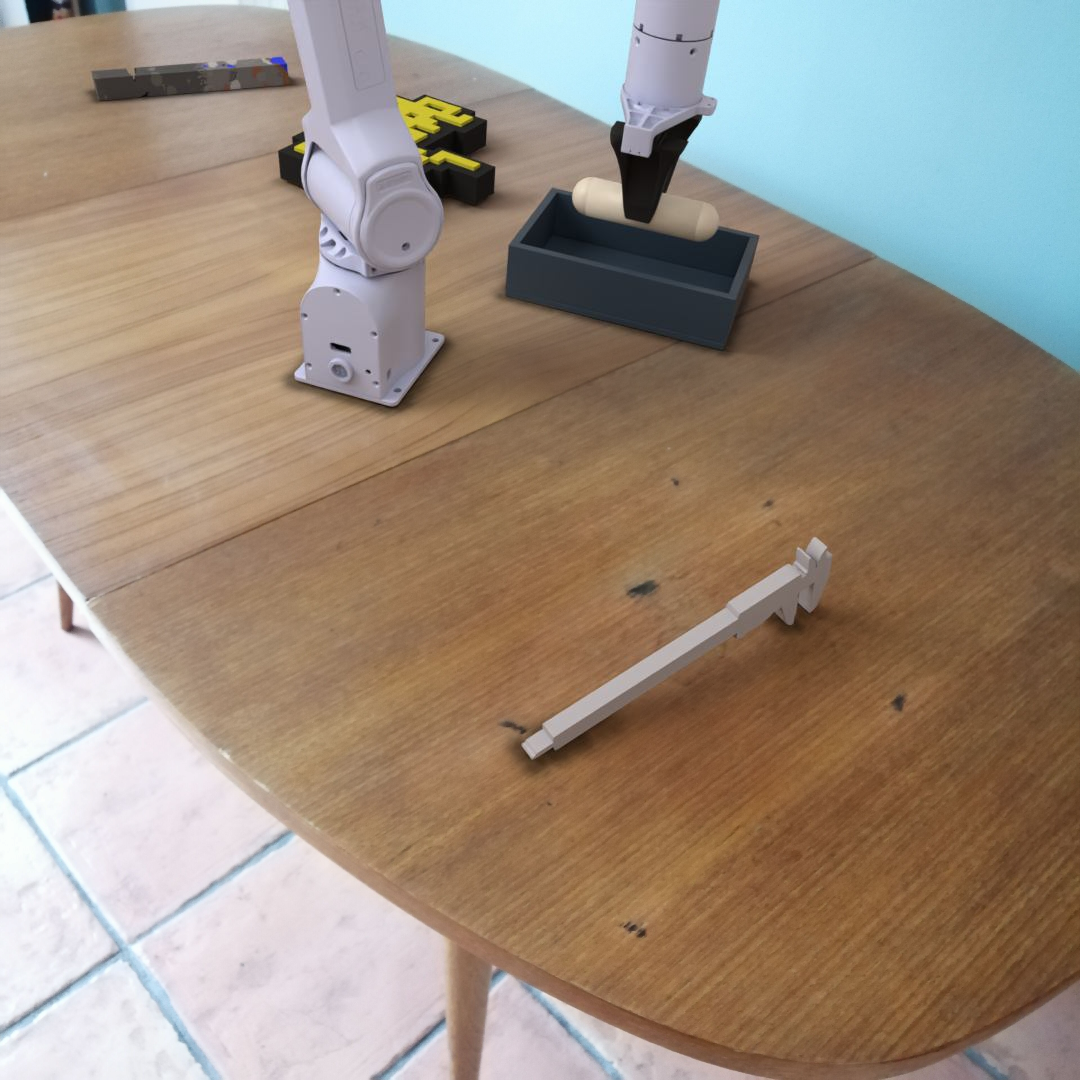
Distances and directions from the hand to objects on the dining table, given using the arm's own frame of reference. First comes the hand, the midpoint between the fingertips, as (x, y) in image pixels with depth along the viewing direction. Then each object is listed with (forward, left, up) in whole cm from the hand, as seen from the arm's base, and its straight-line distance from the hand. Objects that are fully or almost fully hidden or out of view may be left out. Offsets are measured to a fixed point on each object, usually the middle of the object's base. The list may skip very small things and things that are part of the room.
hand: (643, 210), depth 80 cm
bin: (0, 0, -7) cm, 7 cm away
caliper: (-39, -13, -7) cm, 42 cm away
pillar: (+19, +53, -8) cm, 57 cm away
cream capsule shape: (0, 0, -1) cm, 1 cm away
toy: (+12, +25, -7) cm, 29 cm away
